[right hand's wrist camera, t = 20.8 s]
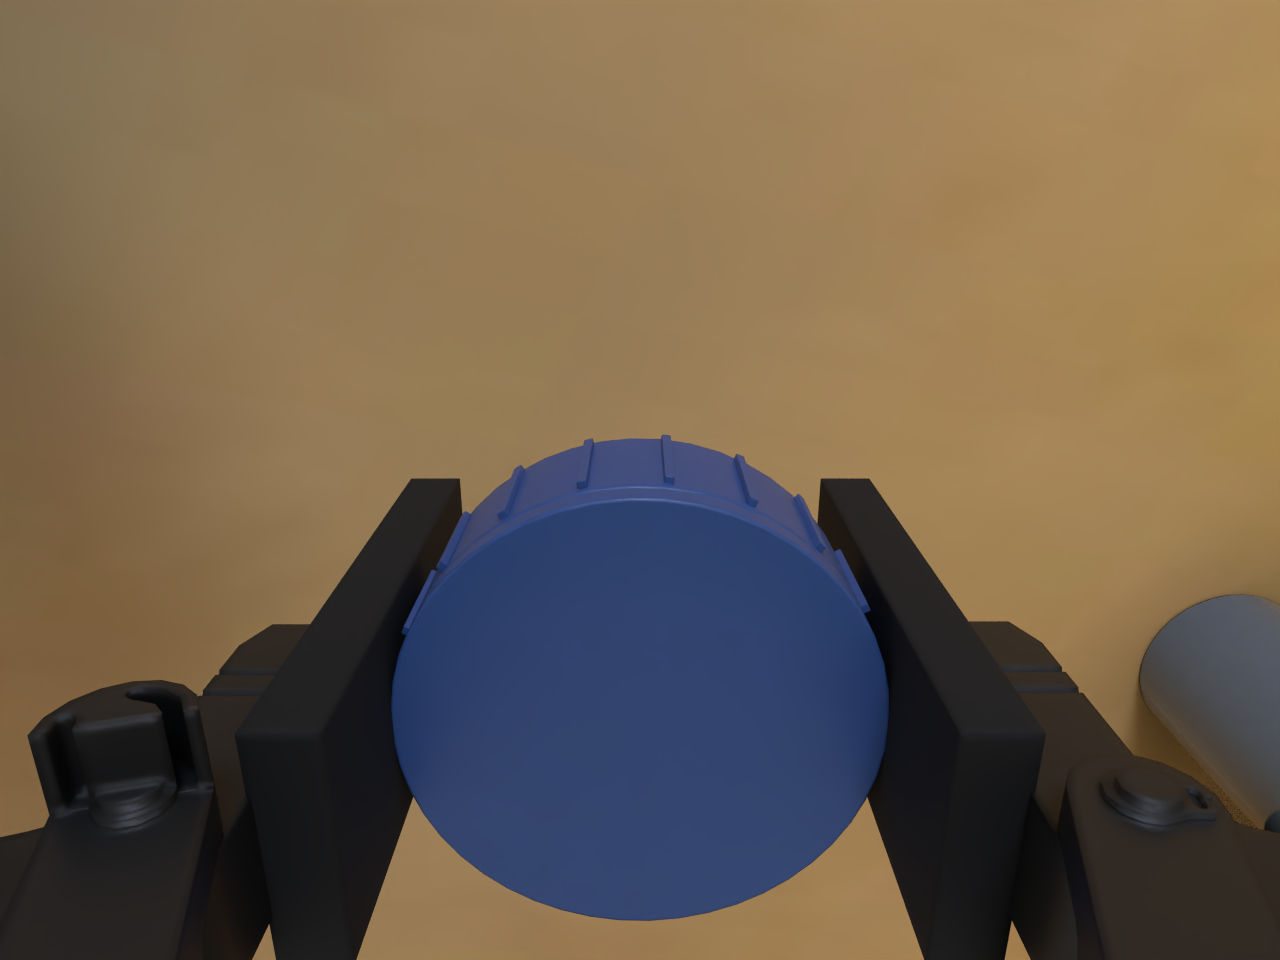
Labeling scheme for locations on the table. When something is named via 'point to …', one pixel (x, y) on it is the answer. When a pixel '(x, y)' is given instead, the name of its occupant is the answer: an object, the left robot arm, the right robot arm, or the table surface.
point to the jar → (1224, 696)
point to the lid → (640, 684)
